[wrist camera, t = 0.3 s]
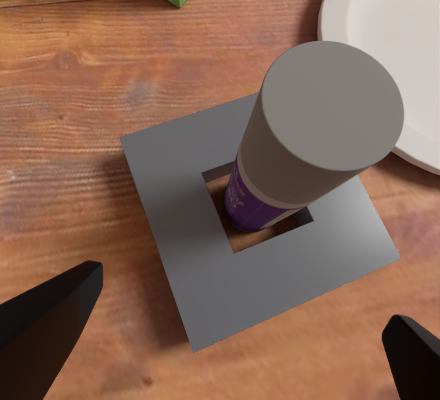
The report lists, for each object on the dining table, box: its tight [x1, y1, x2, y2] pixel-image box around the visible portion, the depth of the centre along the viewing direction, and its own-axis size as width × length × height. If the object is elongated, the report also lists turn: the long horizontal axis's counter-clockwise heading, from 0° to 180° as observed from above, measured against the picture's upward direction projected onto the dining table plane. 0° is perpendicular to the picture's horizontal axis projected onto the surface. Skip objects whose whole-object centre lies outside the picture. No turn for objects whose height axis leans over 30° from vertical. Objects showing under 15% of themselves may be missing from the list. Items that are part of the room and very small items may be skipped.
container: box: [223, 41, 404, 232], centre depth 15 cm, size 5×5×15 cm
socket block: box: [119, 92, 401, 353], centre depth 21 cm, size 16×16×3 cm
